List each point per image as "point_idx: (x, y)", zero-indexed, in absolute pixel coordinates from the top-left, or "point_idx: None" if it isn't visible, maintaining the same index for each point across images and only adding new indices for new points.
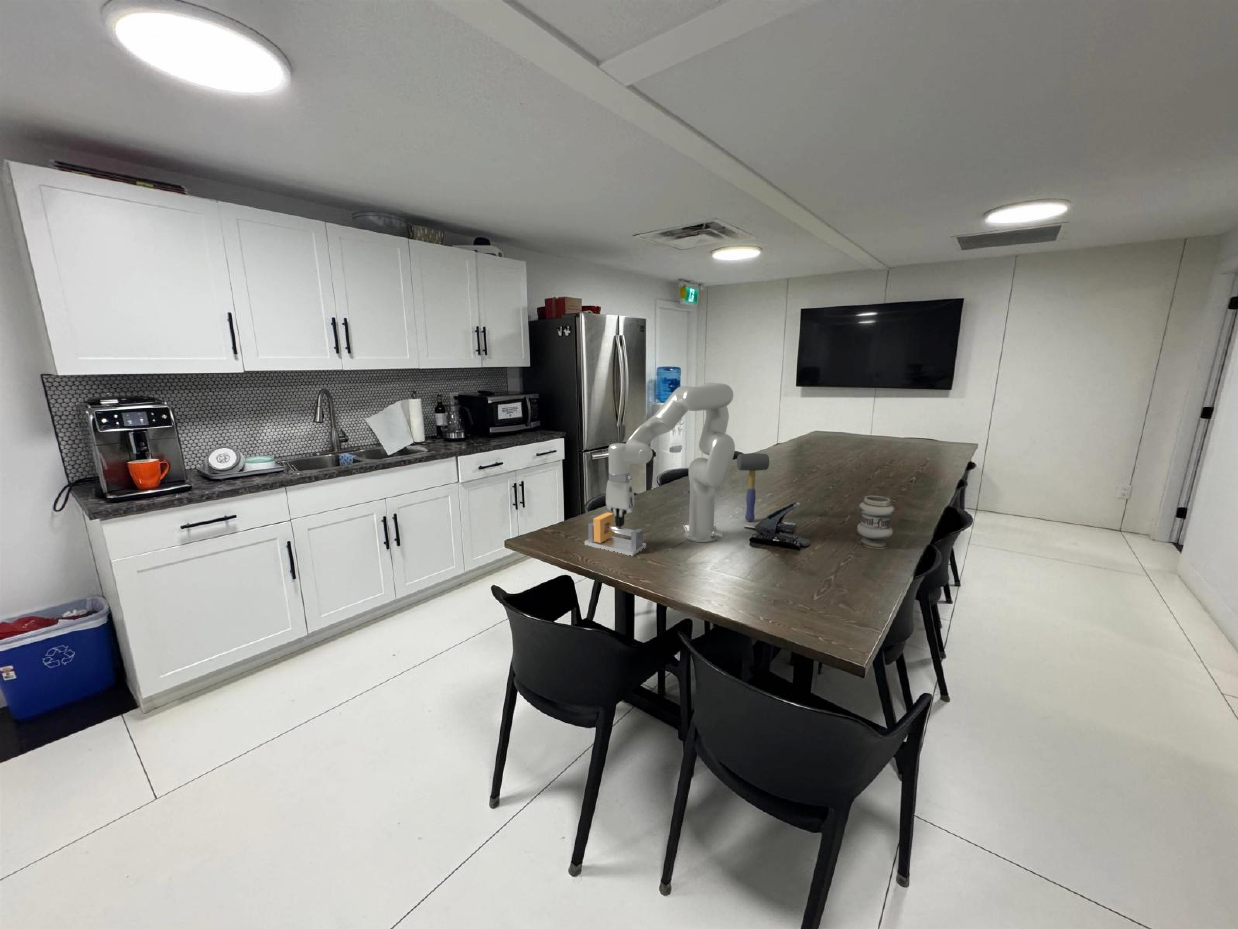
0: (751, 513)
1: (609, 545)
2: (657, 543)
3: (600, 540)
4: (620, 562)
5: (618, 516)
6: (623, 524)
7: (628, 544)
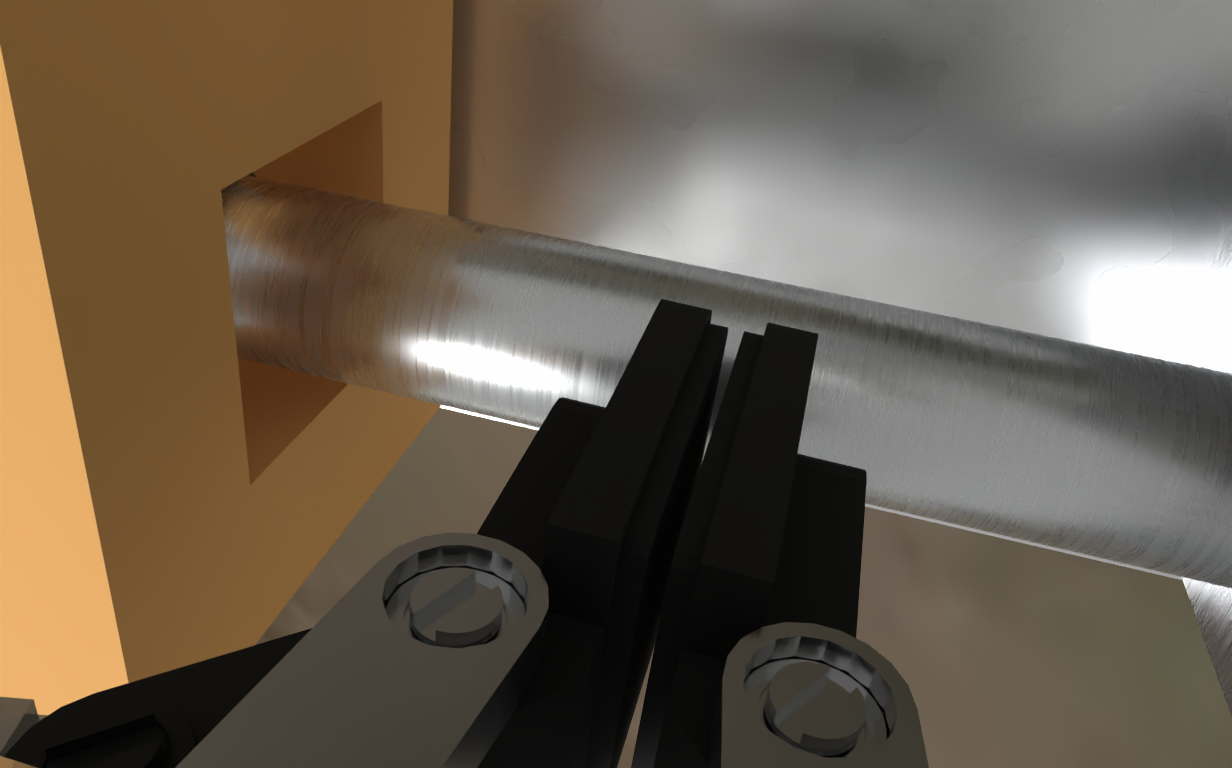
0: None
1: None
2: None
3: (423, 421)
4: (1030, 759)
5: (612, 755)
6: (810, 358)
7: (1003, 226)
